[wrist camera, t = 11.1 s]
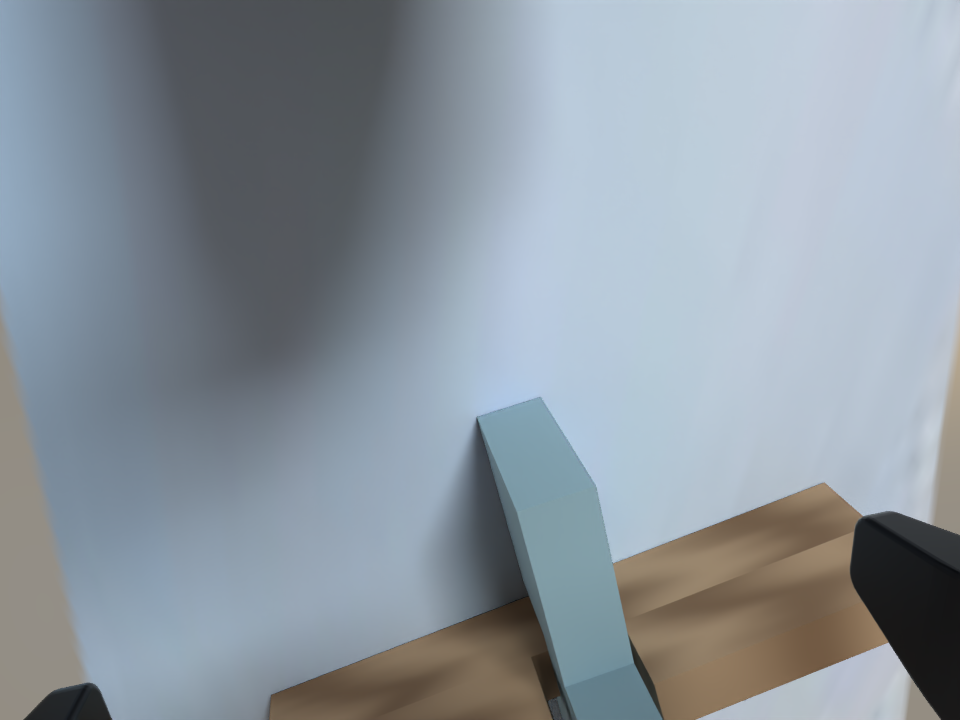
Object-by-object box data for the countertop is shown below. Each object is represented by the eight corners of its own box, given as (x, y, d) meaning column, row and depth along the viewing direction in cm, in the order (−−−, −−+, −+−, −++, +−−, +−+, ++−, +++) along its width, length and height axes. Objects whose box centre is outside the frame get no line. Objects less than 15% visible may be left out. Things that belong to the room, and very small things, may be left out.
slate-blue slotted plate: (624, 749, 29) (724, 981, 22) (576, 767, 29) (660, 1005, 22) (540, 397, 23) (644, 564, 15) (476, 416, 23) (551, 595, 15)
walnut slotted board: (294, 734, 26) (289, 881, 21) (271, 695, 25) (260, 839, 21) (829, 526, 27) (932, 624, 23) (824, 482, 26) (929, 575, 22)
